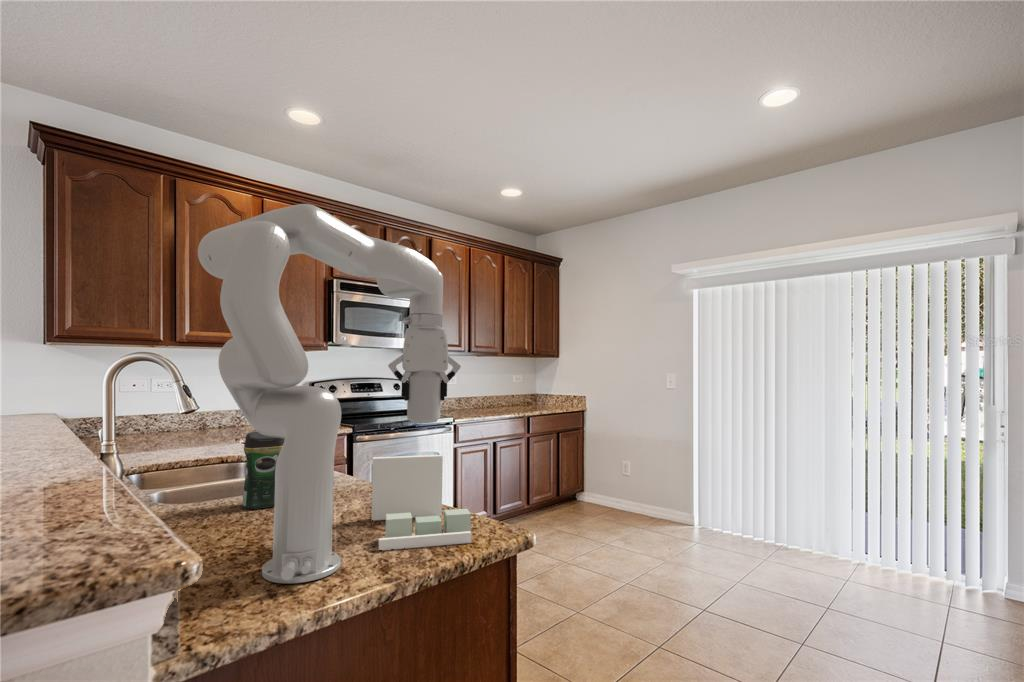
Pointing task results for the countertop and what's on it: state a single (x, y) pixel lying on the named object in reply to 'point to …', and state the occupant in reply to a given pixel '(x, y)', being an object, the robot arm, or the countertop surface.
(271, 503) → the coffee jar
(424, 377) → the can
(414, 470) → the rack
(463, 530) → the offcut
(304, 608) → the countertop surface
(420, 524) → the offcut mid
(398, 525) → the offcut
